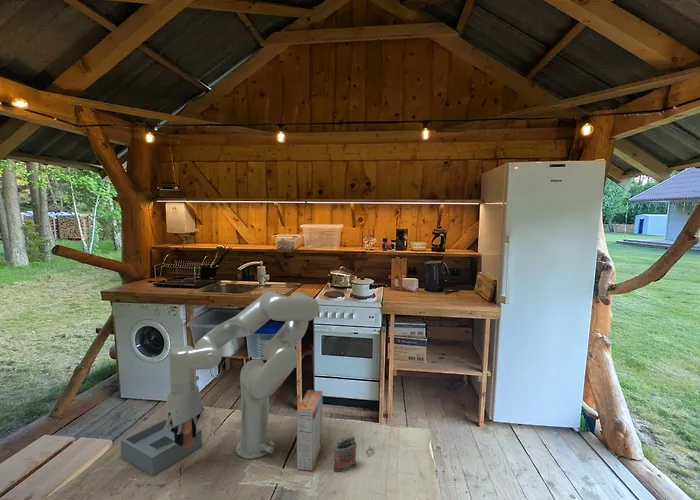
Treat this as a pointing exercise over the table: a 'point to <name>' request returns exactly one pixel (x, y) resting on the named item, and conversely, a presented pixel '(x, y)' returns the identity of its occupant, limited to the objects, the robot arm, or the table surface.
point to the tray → (155, 448)
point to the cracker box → (309, 430)
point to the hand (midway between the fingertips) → (185, 439)
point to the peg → (187, 434)
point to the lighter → (345, 454)
